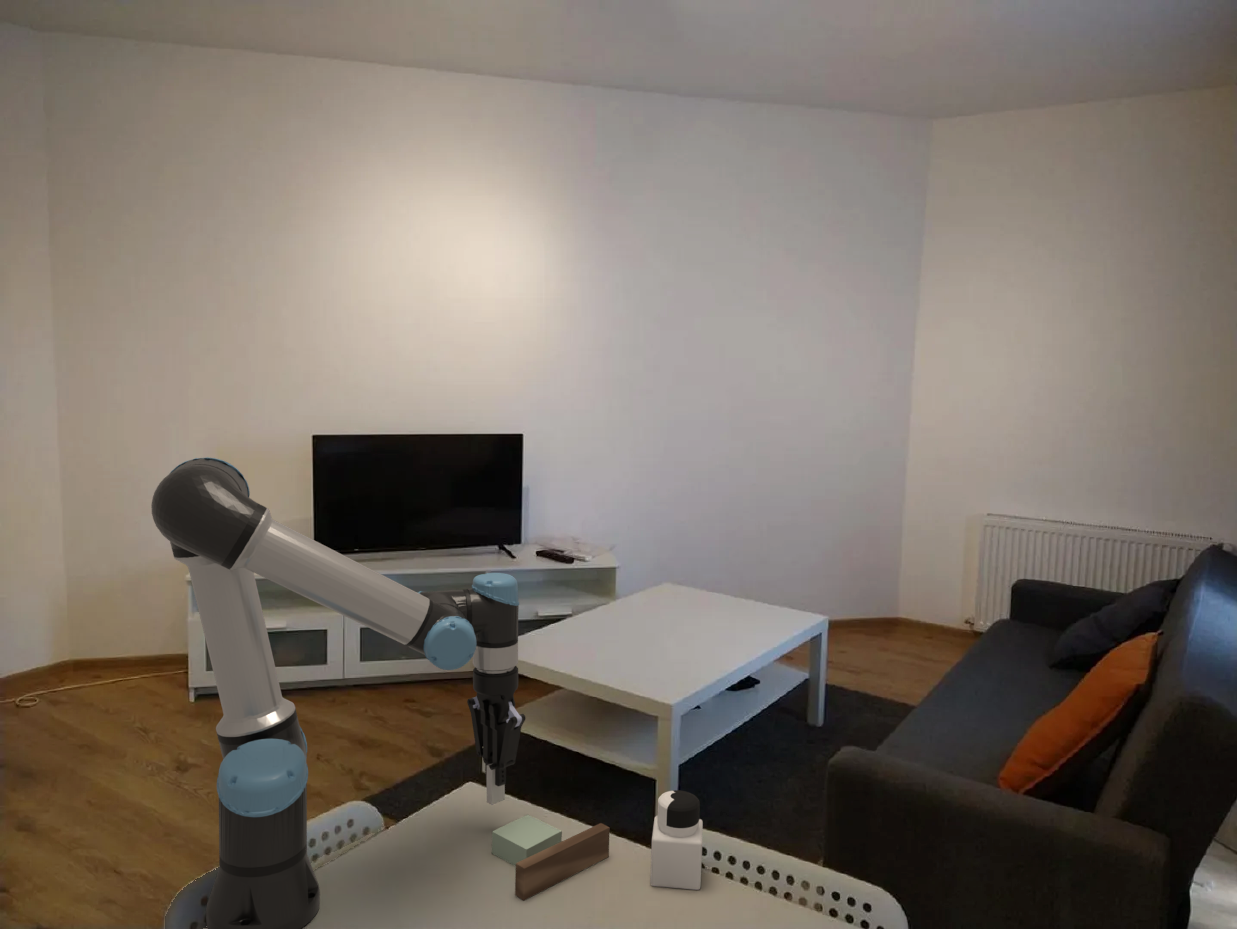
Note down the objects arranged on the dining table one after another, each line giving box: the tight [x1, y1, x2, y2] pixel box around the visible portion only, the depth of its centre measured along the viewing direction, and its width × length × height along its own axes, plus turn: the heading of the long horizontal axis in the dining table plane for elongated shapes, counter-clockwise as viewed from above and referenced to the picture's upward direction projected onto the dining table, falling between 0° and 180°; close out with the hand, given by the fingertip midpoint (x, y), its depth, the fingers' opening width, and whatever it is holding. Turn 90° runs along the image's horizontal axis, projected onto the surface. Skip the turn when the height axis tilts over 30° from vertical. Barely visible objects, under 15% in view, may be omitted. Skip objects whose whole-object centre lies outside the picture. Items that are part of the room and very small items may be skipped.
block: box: [491, 813, 563, 867], centre depth 147 cm, size 8×8×4 cm
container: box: [649, 789, 704, 891], centre depth 142 cm, size 8×8×13 cm
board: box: [514, 822, 611, 901], centre depth 141 cm, size 2×18×5 cm, turn 136°
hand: (495, 800), depth 153 cm, fingers closed
